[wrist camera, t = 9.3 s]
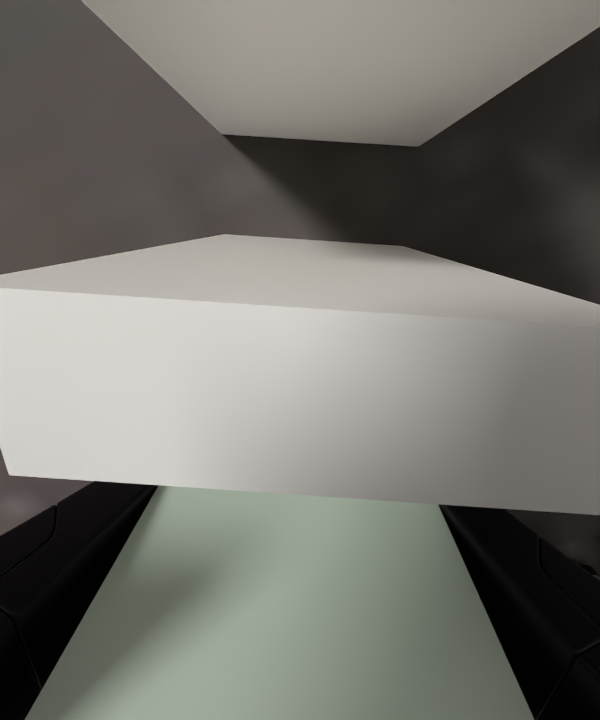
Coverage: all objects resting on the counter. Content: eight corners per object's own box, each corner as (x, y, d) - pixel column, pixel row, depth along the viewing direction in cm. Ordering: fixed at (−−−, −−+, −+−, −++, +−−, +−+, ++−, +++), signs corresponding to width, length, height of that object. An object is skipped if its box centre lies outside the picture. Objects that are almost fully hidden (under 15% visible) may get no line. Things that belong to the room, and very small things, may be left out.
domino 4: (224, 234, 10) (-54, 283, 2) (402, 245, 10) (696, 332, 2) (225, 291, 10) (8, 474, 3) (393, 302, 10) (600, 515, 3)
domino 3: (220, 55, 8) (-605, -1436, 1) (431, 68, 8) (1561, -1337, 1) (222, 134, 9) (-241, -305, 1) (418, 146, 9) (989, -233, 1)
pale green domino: (219, 379, 10) (-16, 790, 3) (387, 391, 10) (585, 834, 3) (220, 425, 11) (29, 861, 4) (379, 436, 11) (525, 898, 3)
